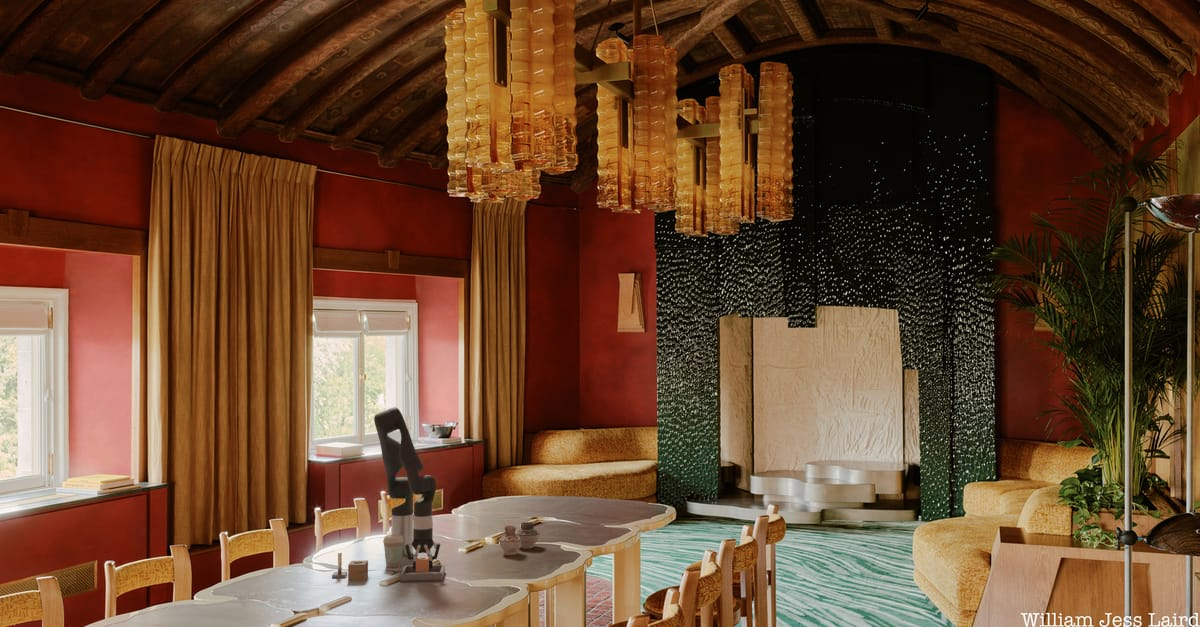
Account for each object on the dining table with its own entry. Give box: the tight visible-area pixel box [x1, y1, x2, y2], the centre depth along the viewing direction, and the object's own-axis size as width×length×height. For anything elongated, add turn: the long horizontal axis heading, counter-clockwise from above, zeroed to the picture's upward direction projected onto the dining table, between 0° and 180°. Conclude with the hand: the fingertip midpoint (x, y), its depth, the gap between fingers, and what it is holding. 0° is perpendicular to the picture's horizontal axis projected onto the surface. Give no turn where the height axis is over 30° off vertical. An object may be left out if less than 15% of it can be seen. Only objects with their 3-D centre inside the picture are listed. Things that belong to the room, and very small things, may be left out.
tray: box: [399, 564, 446, 583], centre depth 361 cm, size 14×16×3 cm
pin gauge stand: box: [331, 552, 348, 579], centre depth 363 cm, size 5×5×9 cm
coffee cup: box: [382, 534, 404, 568], centre depth 380 cm, size 8×9×12 cm
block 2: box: [416, 556, 429, 573], centre depth 361 cm, size 5×5×5 cm
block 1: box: [347, 560, 369, 582], centre depth 359 cm, size 6×6×7 cm
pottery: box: [498, 521, 541, 556], centre depth 406 cm, size 11×25×12 cm, turn 154°
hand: (422, 569), depth 361 cm, fingers closed on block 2, 4 cm apart
